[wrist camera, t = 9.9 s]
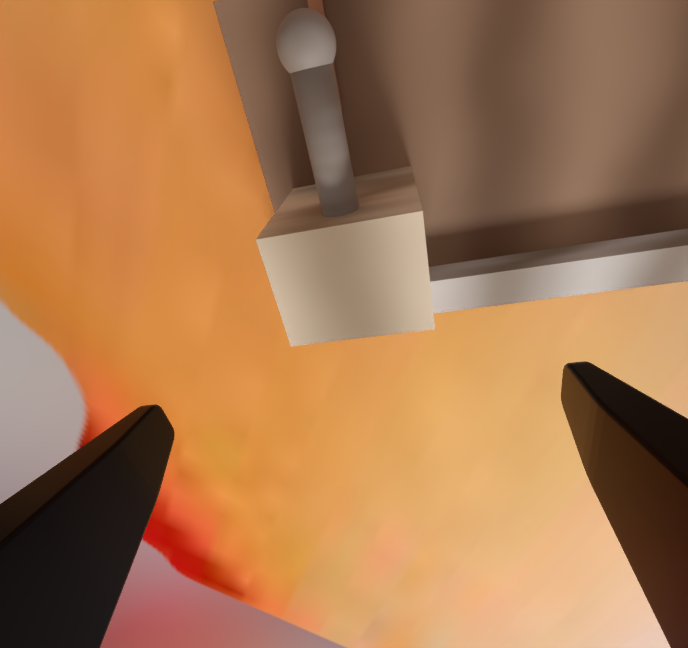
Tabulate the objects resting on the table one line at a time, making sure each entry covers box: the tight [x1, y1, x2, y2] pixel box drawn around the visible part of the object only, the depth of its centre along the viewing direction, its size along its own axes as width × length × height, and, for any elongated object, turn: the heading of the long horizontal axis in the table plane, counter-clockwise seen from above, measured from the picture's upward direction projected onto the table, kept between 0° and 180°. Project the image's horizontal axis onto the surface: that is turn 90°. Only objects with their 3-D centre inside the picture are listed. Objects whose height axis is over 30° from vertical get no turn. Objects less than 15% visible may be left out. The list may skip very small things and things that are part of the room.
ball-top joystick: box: [256, 8, 435, 346], centre depth 14 cm, size 5×9×6 cm, turn 12°
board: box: [213, 0, 688, 314], centre depth 16 cm, size 20×13×4 cm, turn 102°
